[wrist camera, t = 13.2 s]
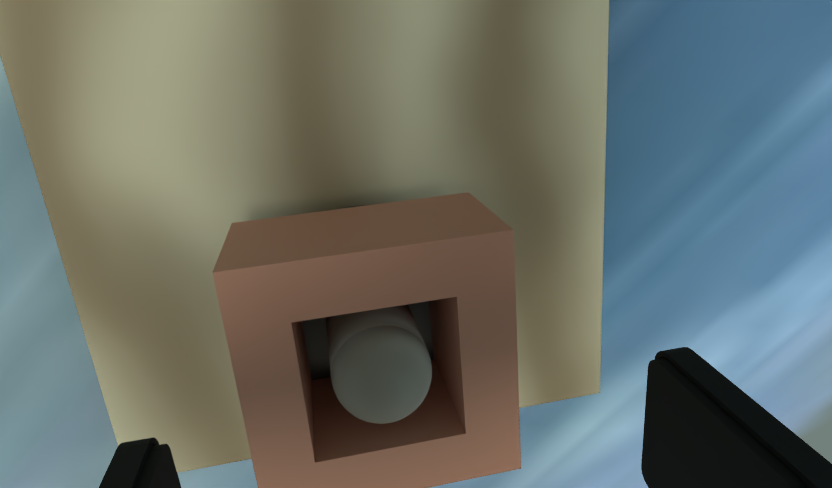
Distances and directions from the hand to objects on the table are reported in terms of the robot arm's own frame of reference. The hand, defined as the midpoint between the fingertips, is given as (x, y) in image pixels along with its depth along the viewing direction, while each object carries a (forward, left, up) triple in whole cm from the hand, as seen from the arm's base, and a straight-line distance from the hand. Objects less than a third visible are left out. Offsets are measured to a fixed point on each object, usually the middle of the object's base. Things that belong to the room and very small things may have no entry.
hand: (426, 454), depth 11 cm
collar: (0, 0, -8) cm, 8 cm away
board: (0, -9, -11) cm, 14 cm away
